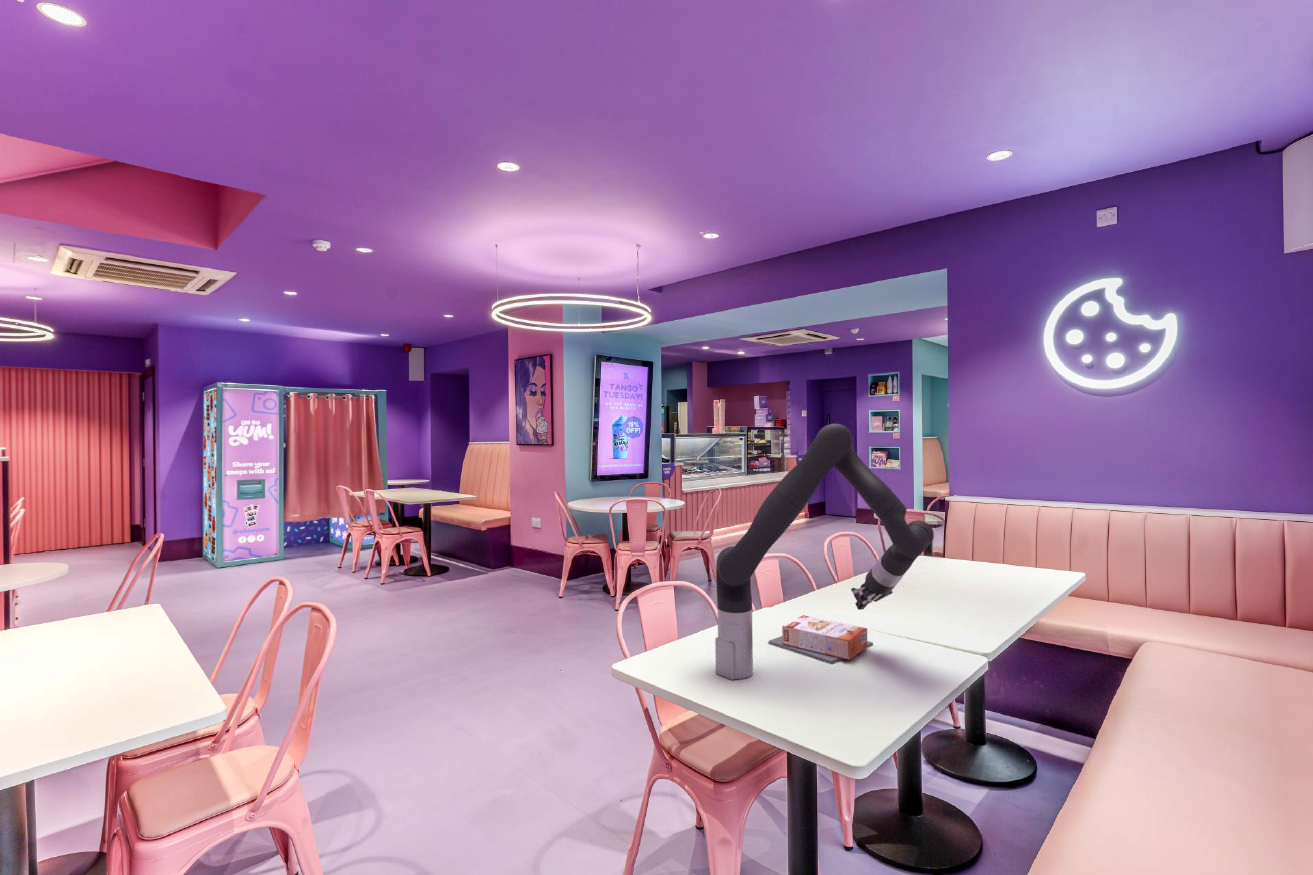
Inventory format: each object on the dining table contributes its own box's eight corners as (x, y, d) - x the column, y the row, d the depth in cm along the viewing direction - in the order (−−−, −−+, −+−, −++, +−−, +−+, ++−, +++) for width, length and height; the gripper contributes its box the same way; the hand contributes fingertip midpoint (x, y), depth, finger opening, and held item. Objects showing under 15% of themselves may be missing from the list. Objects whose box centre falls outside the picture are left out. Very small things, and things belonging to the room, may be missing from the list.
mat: (831, 663, 162) (831, 661, 162) (768, 643, 179) (768, 640, 179) (873, 644, 176) (872, 642, 176) (810, 627, 193) (810, 625, 193)
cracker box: (849, 638, 162) (781, 624, 175) (850, 660, 162) (781, 645, 175) (867, 626, 173) (802, 614, 186) (868, 646, 173) (802, 633, 186)
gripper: (899, 560, 165) (872, 593, 176) (858, 564, 161) (834, 597, 173) (912, 584, 159) (884, 616, 171) (870, 588, 156) (844, 620, 168)
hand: (859, 606), depth 172 cm, fingers closed
